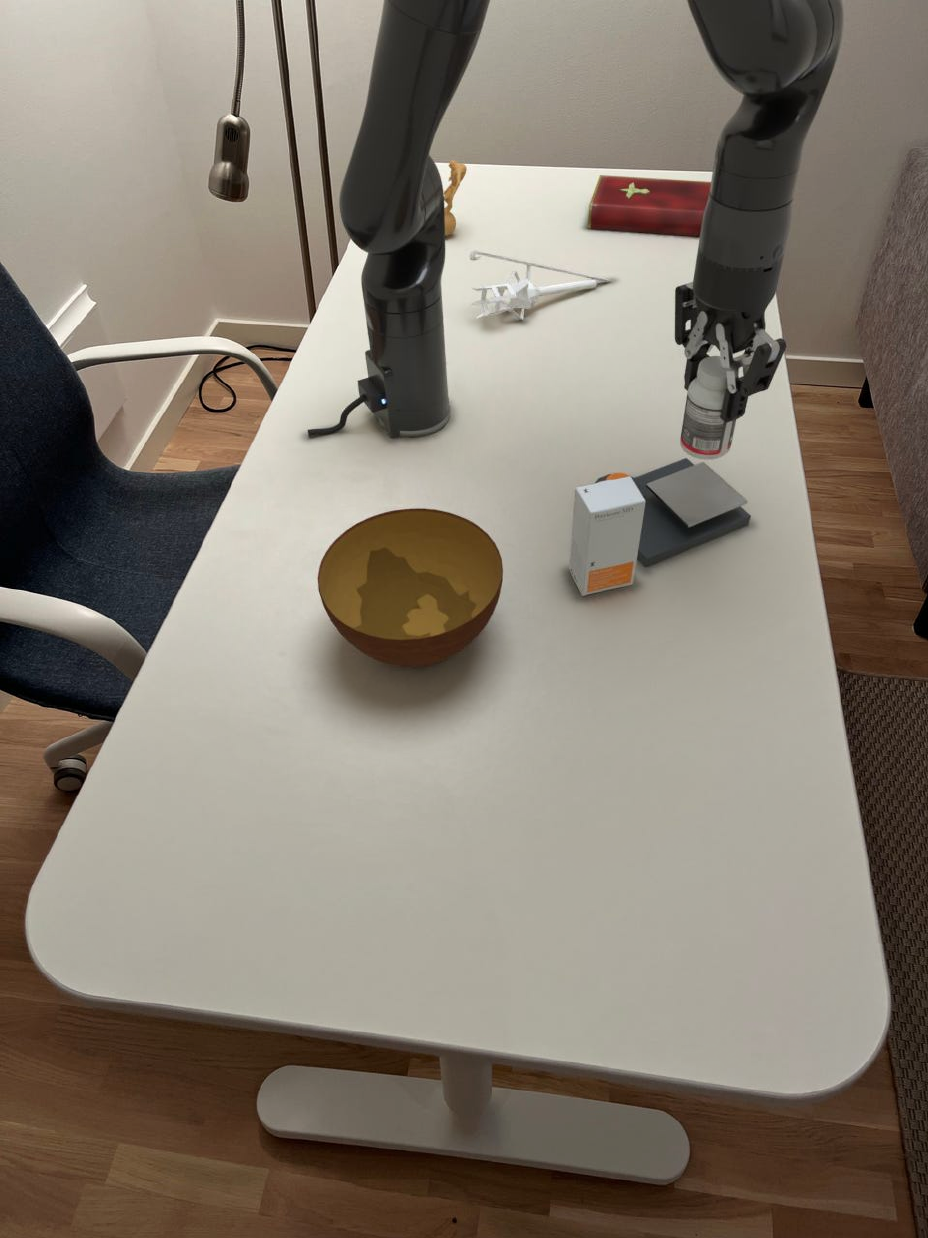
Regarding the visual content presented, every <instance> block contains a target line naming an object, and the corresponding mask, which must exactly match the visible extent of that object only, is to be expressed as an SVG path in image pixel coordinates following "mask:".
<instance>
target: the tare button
mask: <svg viewBox="0 0 928 1238" xmlns="http://www.w3.org/2000/svg"><path fill="white" fill-rule="evenodd" d="M609 474H610V475H609V476H608V477H607V479H606V480H615V479H620V478H624V477H629V476H630V475H629V474H627V473H625V472H612V473H609Z"/></svg>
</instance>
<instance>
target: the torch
mask: <svg viewBox="0 0 928 1238" xmlns="http://www.w3.org/2000/svg"><path fill="white" fill-rule="evenodd" d="M476 255H479V256H477V257H476ZM482 256H484V257H488V258H493V259H498V260H503V261H508V262H512V263H517V264H522V265H526V272H525V278H523V279H520V276H519V273H518V271H517V270H514V271H511V273H510V275H509V276H508V278H507V279H506V281H505V282H504V284H494V285H487V286H483V285H480V287H479V288H478V287H471V289H473V290H474V291H476V292H481V297H480V300H476V301H473V302H471V303H468V305H469V306H480V305H481V306H482V308H483V311H484V313H483V312H482V313H480V314H479V315H478V316H477V317H476V318H475V319H476V320H477V319H480V318H482V317H484V318H485V317H488V316H493V315H498V314H501V313H504V312H508V313H511V315H512V316H513V317H514V318H515V319H517V320H518V321H522V320H524V315H525V309H532V307H533V306H534V305H535V303H536V302H537V300H538V299H539V297H545V296H551V295H557V294H558V295H559V294H563V293H564V294H565V293H570V292H577V291H582V290H583V291H584V290H588V289H595V288H596V287H597V285H598V281H601V282H612V280H611V279H609V278H605V277H601V276H596V275H592V274H588V273H582V272H578V271H573V270H568V269H564V268H559V267H554V266H549V265H546V264H540V263H537V262H531V261H526V260H522V259H517V258H512V257H508V256H503V255H499V254H493V253H490V252H485V251H480V250H477V249H476V250H473V251H470V252H469V260H470V261H473V262H475V261H478V260H481V259H482V258H483V257H482ZM532 267H535V268H539V269H545V270H549V271H555V272H559V273H564V274H568V275H573V276H577V277H582V278H587V279H585V280H578V281H572V282H565V283H559V284H558V283H557V284H553V285H547V286H546V285H545V286H539V287H538V286H537V285H535V283H533V282H532V281H531V271H532ZM514 277H515V280H517V282H515V283H513V284H510V283H511V282H512V279H513V278H514ZM488 290H491V291H492V293H493V295H494V297H490V298H487V294H488V293H487V292H488ZM505 291H508V293H509V294H506V295H504V293H505ZM506 300H510V303H509V306H508V305H507V304H506V303H505V301H506ZM493 303H495V307H494V311H491V310H490V308H489V306H488V304H493ZM516 308H517V309H521V311H520V315H519V314H518V313H517V312H516V311H515V310H514V309H516Z"/></svg>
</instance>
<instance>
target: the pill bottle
mask: <svg viewBox="0 0 928 1238" xmlns="http://www.w3.org/2000/svg"><path fill="white" fill-rule="evenodd" d="M709 356H710V355H709ZM739 374H740V369H739V370H738V375H739ZM739 376H740V375H739ZM727 388H728V385H727V374H726V370H725V369H723V368H722V366H721V356H720V355H711V356H710V357H707V358H704V359H703V360H702V361H701V362H700V363H699V366H698V371H697V378H695V379H694V380H693V381H692V382H691V384H690V385H689V388H688V391H686V398H685V399H686V400H685V406H684V413H683V420H682V425H681V431H680V439H679V444H680V447H681V448H682V450H683V452H685V453H686V454H687V455H689V456H690V457H693V458H696V459H698V460H708V461H709V460H717V459H720V458H723V457H724V456H726V455H727V454H728V453H729V452H730V450H731V447H732V443H733V439H734V433H735V428H736V424H737V419H736V420H733V421H730V422H728V423H726V422H724V421H723V420H722V419H721V418H720V416H721V411H722V406H723V401H724V396H725V391H726V389H727Z"/></svg>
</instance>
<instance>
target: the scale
mask: <svg viewBox="0 0 928 1238" xmlns="http://www.w3.org/2000/svg"><path fill="white" fill-rule="evenodd" d="M694 465H695V464H694V463H693V462H692V461H690V459H688V458H687V457H685V458H682V459H679V460H677V461H675V462H672V463H669V464H667V465H664V466H660V467H659V468H656V469H654V470H651V471H649V472H646V473H643V474H641V475H638V476H635V477H634V476H631V475H629V476H630V477H631V478H632V479H633V481H634V483H635V484H636V486H637V488H638V489H639V491H640V493H641V494H642V496H643V498H644V499H645V501H646V502H645V509H644V515H643V522H642V529H641V535H640V541H639V548H638V555H637V561H639V562H640V563H641V564H642V566H643V567H644V568H649V567H651V566H653V565H656V564H659V563H661V562H662V561H665V560H667V559H669V558H672V557H674V556H677V555H679V554H682V553H684V552H686V551H689V550H691V549H694V548H696V547H698V546H701V545H703V544H705V543H707V542H710V541H712V540H715V539H718V538H720V537H722V536H725V535H728V534H729V533H731V532H734V531H737V530H739V529H741V528H743V527H746V526H748V525H749V524H750V520H751V516H752V515H751V514H750V513H749V512H748V511H746V510H745V509H744V508H743V507H742V506H740V507H737V508H735V509H733V510H730V511H728V512H725V513H723V514H720V515H718V516H716V517H713V518H711V519H708V520H706V521H703V522H701V523H698V524H696V525H694V526H691V527H689V528H688V527H687V526H686V525H685V524H684V523H683V522H682V521H681V520H680V519H679V518H678V517H677V516H676V515H675V514H673V513H672V512H671V511H670V510H669V509H668V508H667V507H666V506H665V505H664V504H663V503H662V502H661V501H660V500H659V499H658V498H657V497H656V496H655V495H654V494H653V493H652V492H651V491H650V490H649V489H648V488H647V487H646V484H647V483H650V482H653V481H655V480H658V479H660V478H663V477H665V476H668V475H671V474H673V473H676V472H678V471H681V470H683V469H686V468H689V467H691V466H694ZM610 474H611V473H608V474H605V475H604V476H601V477H598V478H597V479H596V481H594V483H593V484H595V483H598V482H601V481H606V479H607V477H608V476H609V475H610Z"/></svg>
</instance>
